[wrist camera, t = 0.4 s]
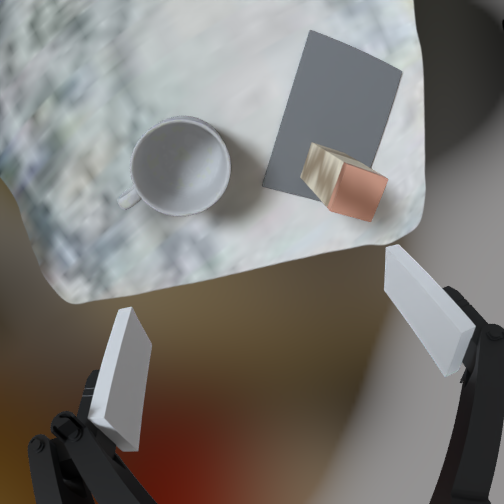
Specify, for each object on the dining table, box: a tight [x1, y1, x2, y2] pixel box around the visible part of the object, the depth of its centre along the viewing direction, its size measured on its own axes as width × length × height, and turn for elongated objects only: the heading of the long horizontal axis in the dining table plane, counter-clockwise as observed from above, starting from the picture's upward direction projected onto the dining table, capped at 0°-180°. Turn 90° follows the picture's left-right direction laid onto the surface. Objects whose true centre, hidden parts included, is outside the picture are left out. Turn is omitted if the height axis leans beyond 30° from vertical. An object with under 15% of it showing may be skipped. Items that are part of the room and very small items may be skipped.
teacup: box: [118, 116, 231, 216], centre depth 35 cm, size 14×11×8 cm
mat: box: [262, 30, 402, 201], centre depth 38 cm, size 22×14×1 cm, turn 164°
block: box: [300, 142, 388, 222], centre depth 35 cm, size 5×5×12 cm
